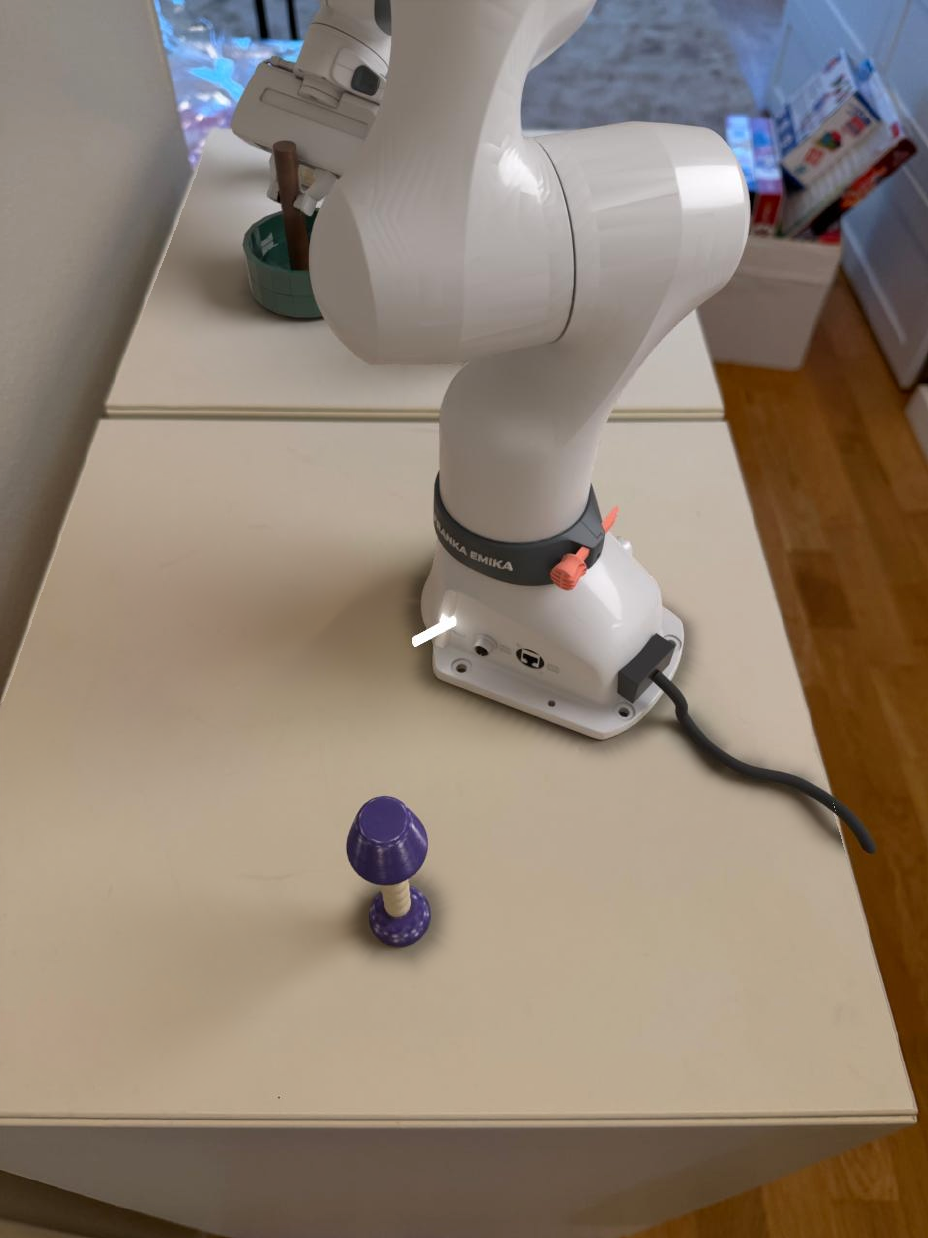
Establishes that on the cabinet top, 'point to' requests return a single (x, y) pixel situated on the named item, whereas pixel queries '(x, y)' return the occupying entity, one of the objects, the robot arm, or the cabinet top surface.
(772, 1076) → the cabinet top surface
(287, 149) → the stirring stick
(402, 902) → the toy lamp
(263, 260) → the bowl
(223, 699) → the cabinet top surface
